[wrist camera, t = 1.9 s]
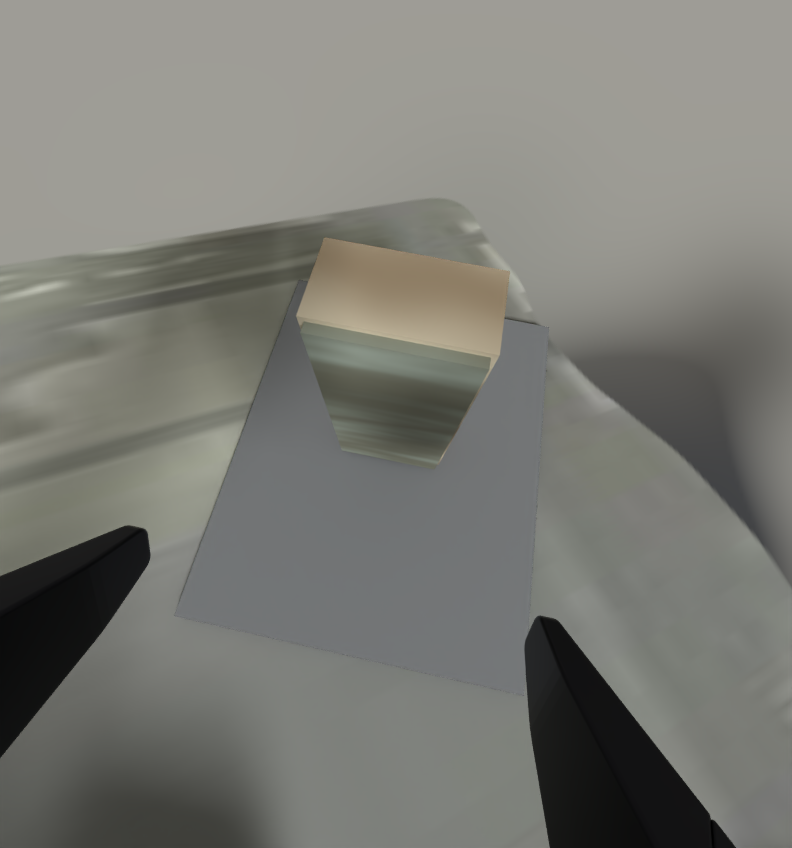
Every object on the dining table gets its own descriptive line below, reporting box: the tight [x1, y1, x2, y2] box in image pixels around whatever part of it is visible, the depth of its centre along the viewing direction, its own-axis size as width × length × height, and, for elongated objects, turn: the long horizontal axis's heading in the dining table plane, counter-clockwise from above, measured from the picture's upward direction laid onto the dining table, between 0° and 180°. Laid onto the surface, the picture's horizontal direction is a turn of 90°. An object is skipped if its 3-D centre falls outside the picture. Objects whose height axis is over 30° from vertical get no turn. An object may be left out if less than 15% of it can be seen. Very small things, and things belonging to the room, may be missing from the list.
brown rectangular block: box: [296, 237, 510, 470], centre depth 17 cm, size 4×6×12 cm, turn 79°
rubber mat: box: [174, 280, 549, 696], centre depth 23 cm, size 22×18×1 cm
